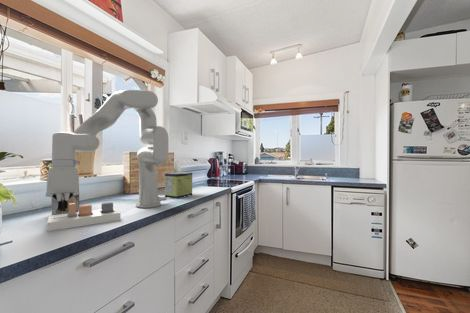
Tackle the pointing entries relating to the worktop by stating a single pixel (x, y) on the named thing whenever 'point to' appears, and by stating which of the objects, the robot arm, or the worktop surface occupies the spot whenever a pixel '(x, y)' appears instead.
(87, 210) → the press button
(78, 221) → the console
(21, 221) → the worktop surface
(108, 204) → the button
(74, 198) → the coffee box
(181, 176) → the protein box
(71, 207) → the slider lever
